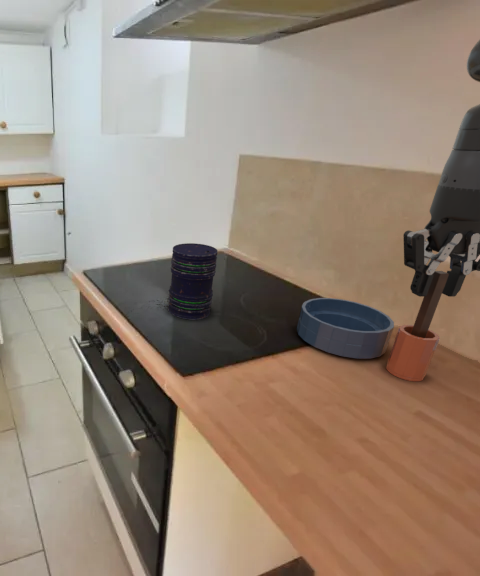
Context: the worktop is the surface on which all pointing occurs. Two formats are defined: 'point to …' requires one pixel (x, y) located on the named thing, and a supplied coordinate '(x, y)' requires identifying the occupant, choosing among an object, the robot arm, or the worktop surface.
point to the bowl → (345, 328)
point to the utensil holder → (411, 354)
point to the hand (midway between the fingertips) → (433, 294)
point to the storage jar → (192, 280)
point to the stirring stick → (429, 304)
